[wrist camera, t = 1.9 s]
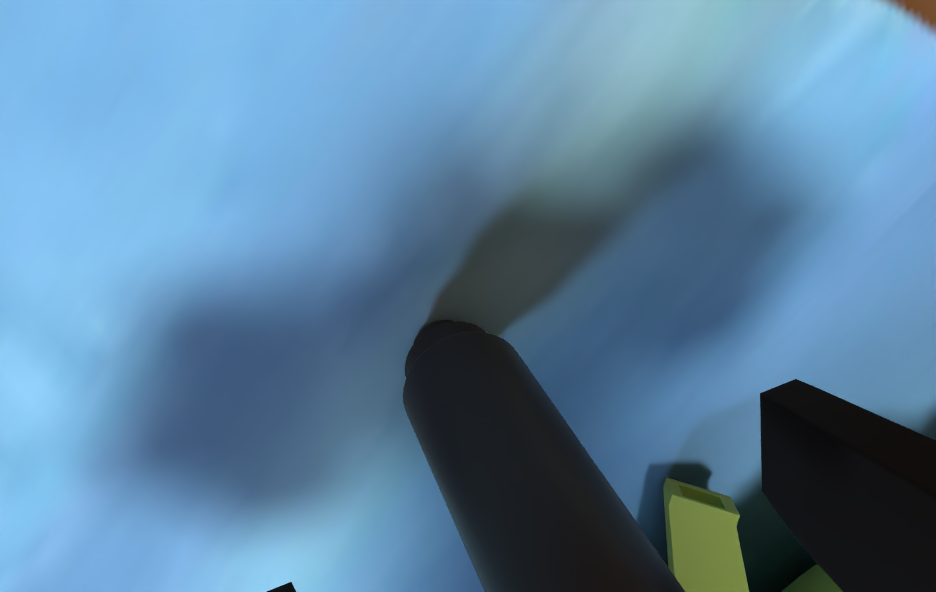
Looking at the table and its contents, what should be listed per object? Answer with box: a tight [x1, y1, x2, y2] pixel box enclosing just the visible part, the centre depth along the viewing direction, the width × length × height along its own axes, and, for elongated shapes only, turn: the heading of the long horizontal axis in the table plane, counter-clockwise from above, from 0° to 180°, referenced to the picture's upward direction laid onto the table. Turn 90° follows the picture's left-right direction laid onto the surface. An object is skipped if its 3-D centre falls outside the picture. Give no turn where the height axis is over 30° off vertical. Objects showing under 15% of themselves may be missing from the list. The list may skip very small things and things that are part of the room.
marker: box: [403, 320, 685, 592], centre depth 13 cm, size 2×2×9 cm
